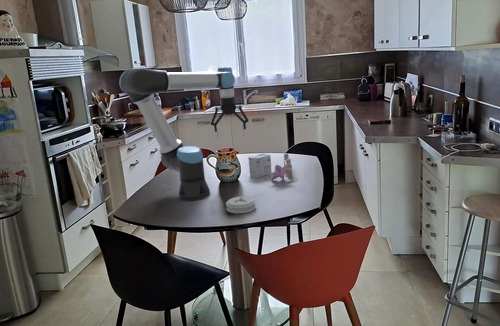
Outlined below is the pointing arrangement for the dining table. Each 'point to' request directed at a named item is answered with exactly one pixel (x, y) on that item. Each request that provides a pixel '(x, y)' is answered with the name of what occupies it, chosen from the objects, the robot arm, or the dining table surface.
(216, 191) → the dining table surface
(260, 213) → the dining table surface
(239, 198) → the lid
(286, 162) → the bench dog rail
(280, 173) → the lily
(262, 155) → the light bulb box
